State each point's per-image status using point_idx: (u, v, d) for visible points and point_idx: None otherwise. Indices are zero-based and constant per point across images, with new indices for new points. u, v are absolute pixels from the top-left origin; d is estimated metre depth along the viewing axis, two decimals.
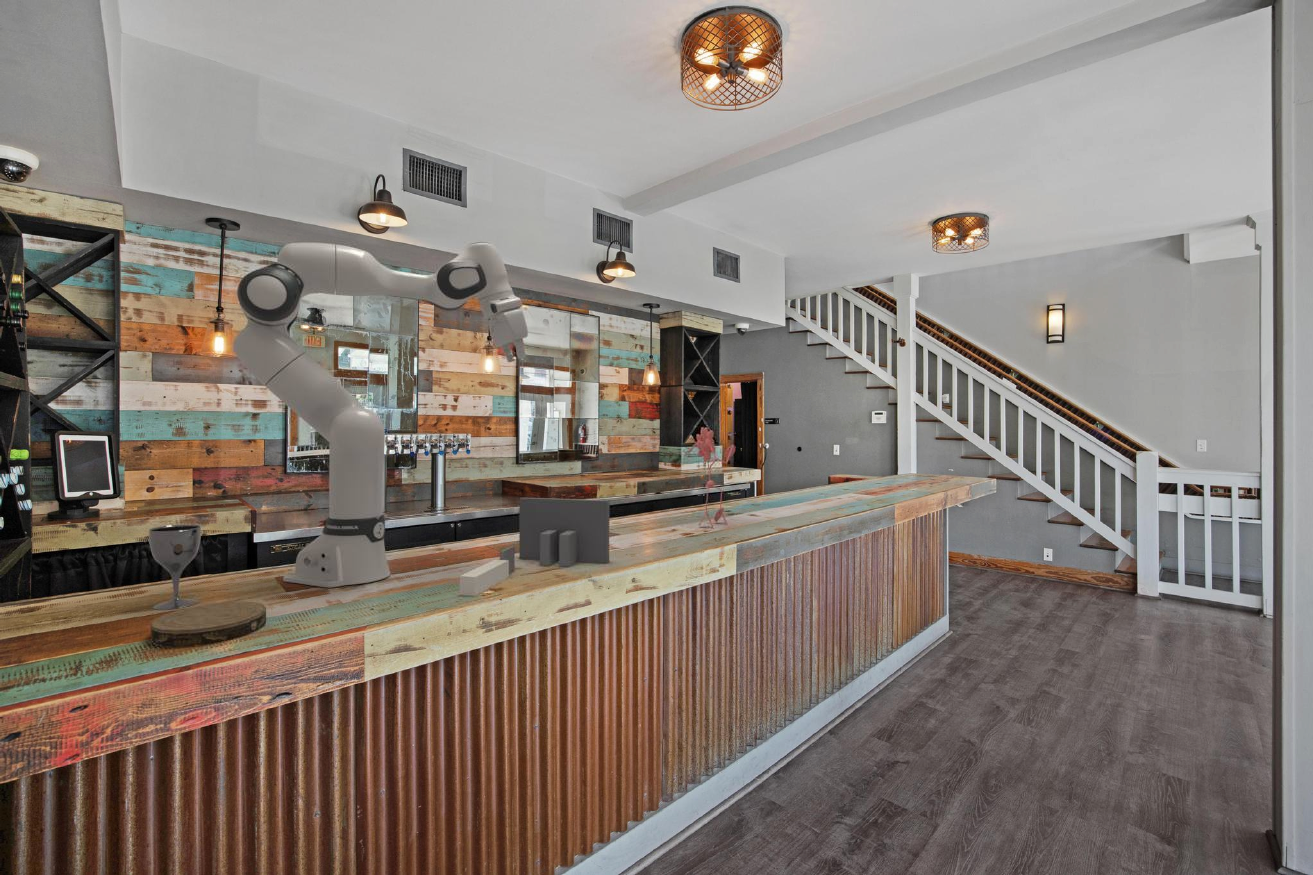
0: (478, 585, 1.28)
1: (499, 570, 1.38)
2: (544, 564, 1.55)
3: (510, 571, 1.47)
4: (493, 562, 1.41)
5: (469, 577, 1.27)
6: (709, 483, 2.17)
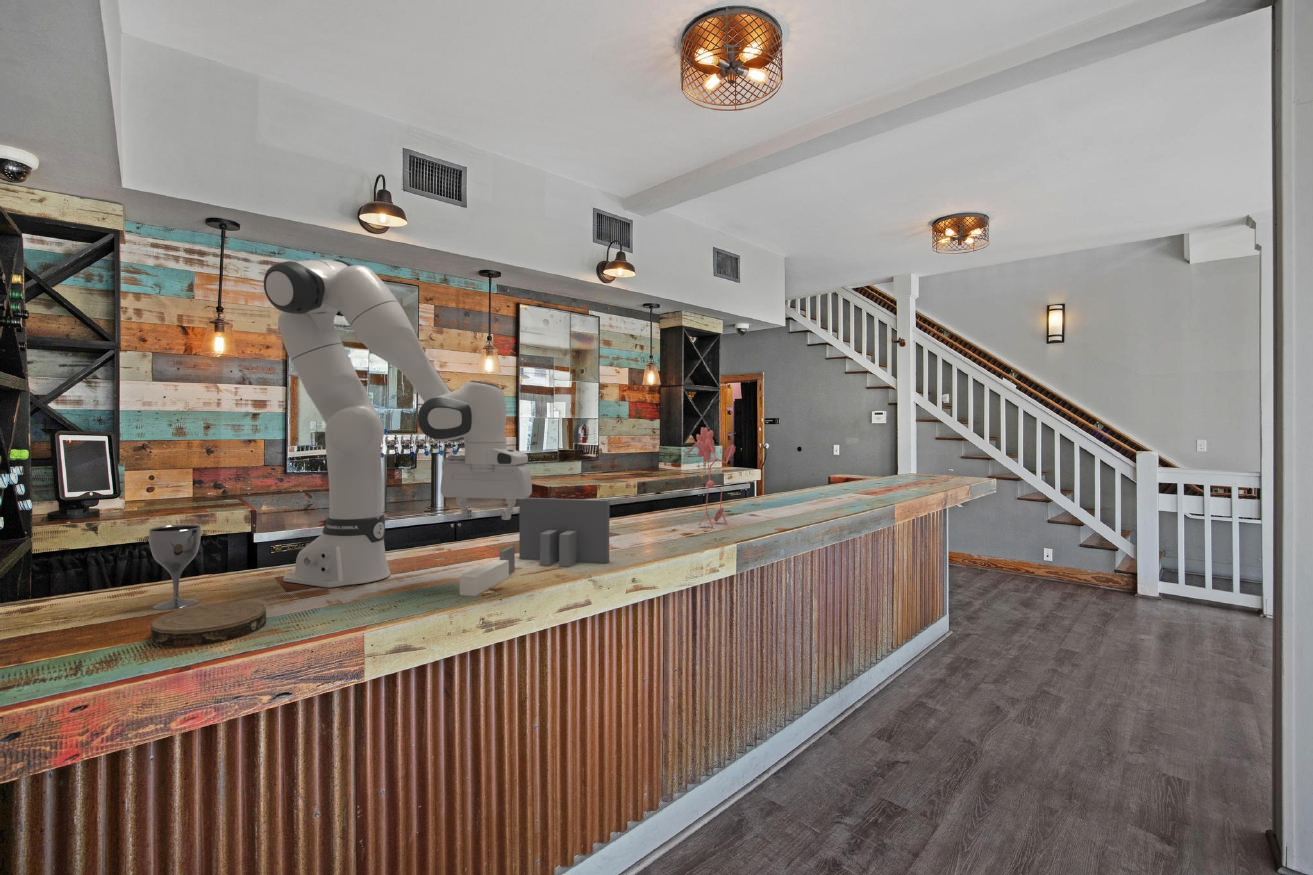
0: (478, 585, 1.28)
1: (499, 570, 1.38)
2: (544, 564, 1.55)
3: (510, 571, 1.47)
4: (493, 562, 1.41)
5: (469, 577, 1.27)
6: (709, 483, 2.17)
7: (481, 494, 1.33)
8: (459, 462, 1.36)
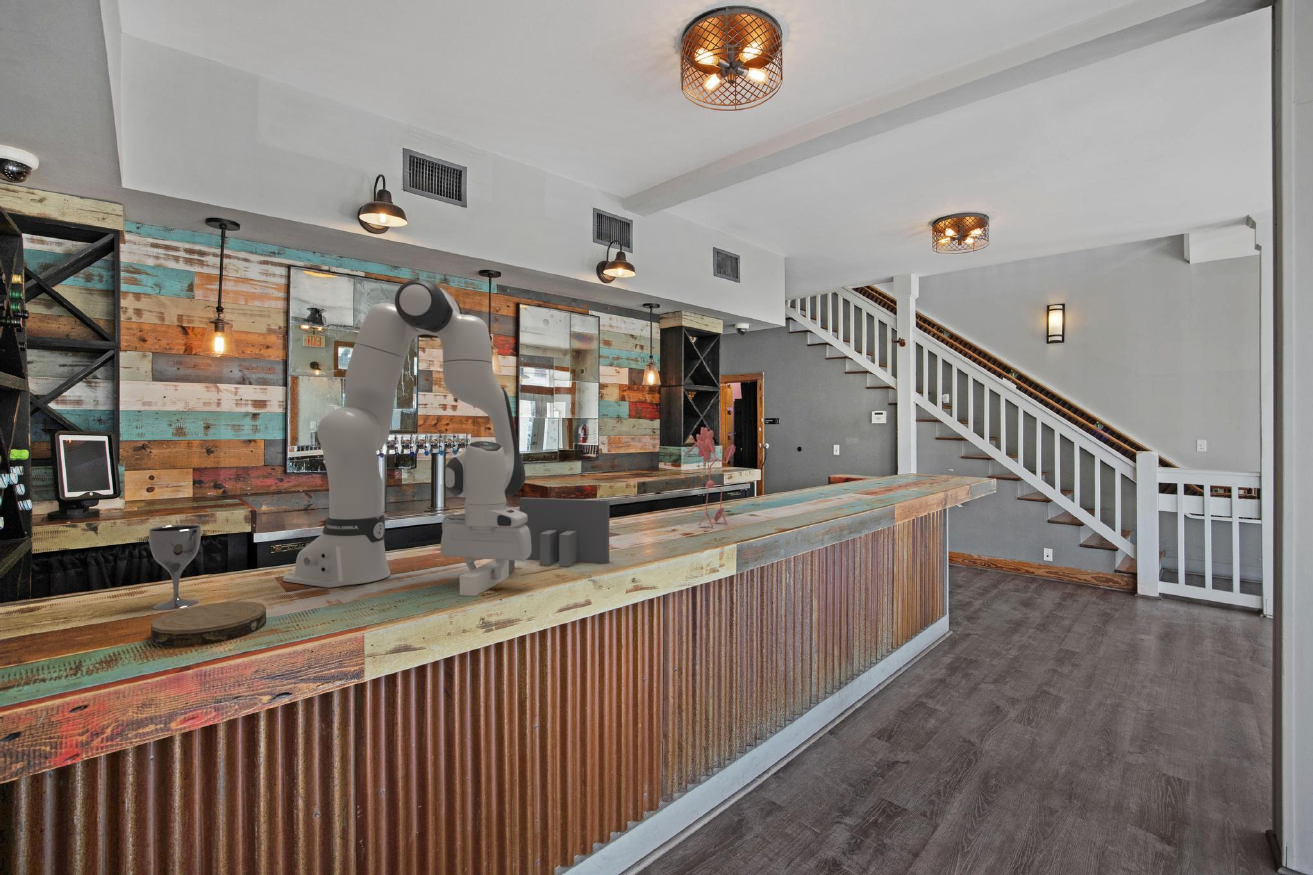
0: (478, 584, 1.28)
1: None
2: (544, 564, 1.55)
3: (510, 571, 1.47)
4: (493, 562, 1.41)
5: (469, 577, 1.27)
6: (709, 483, 2.17)
7: (481, 555, 1.34)
8: (459, 522, 1.36)
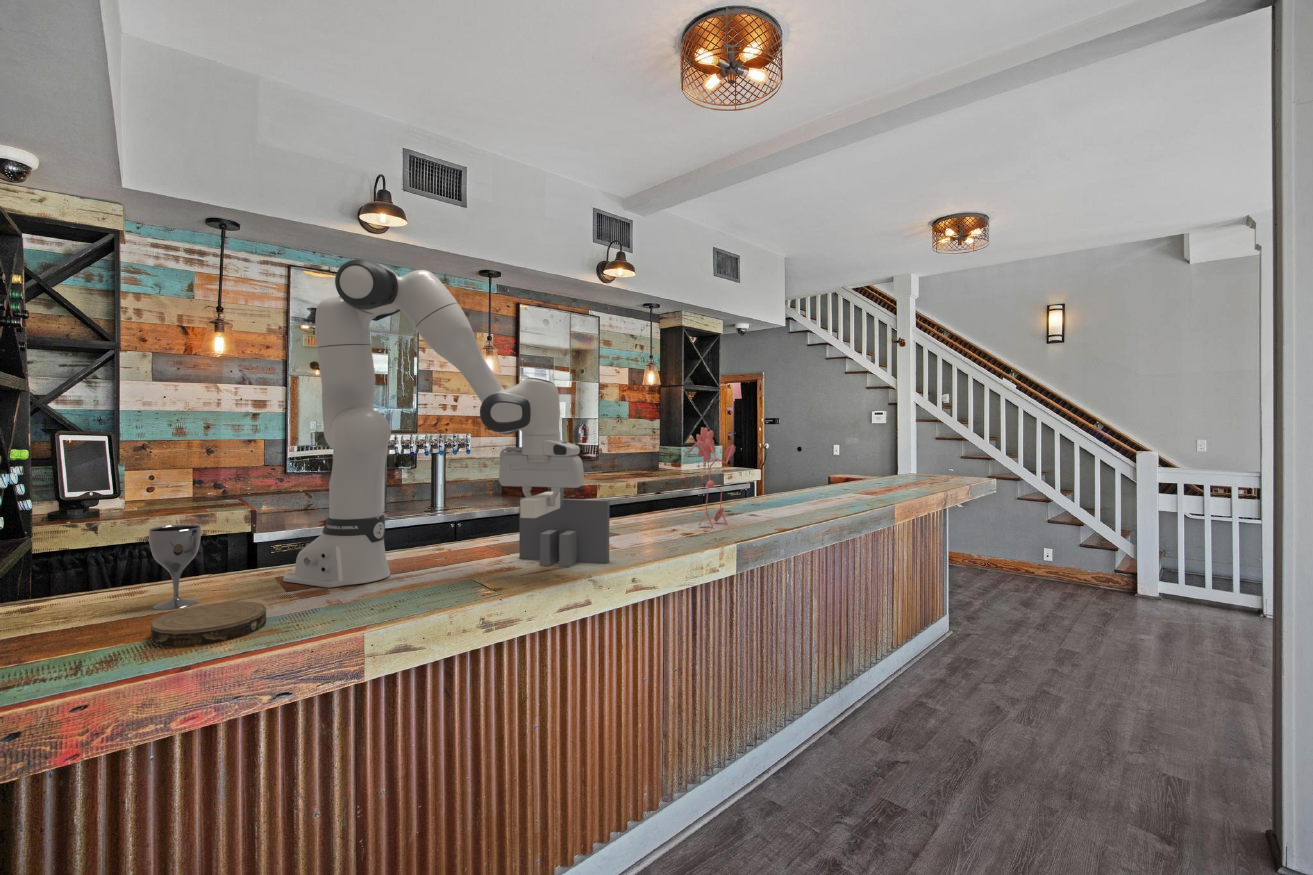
0: (537, 508, 1.38)
1: None
2: (544, 564, 1.55)
3: (560, 504, 1.57)
4: (546, 493, 1.50)
5: (529, 500, 1.37)
6: (709, 483, 2.17)
7: (537, 483, 1.43)
8: (516, 453, 1.46)
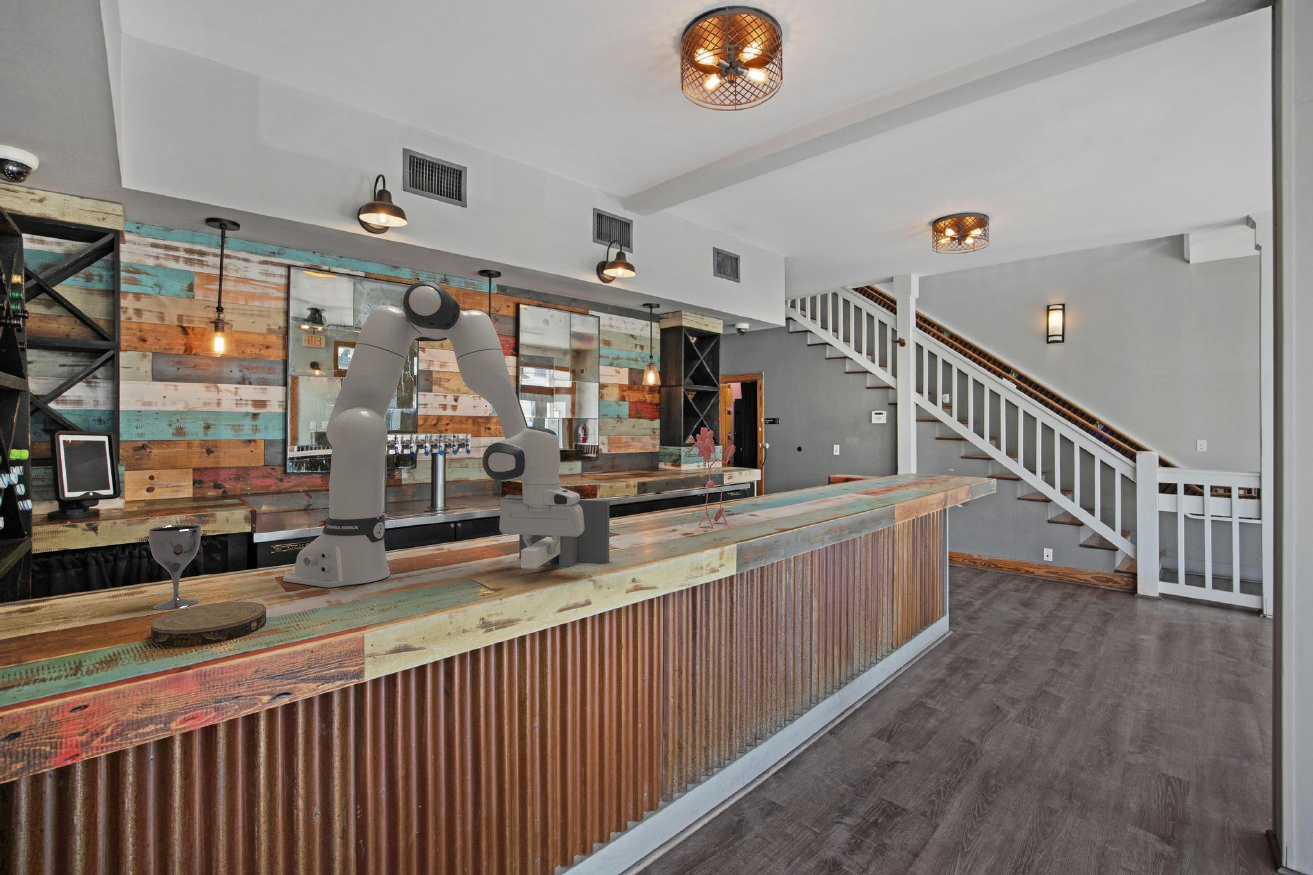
0: (538, 558, 1.39)
1: None
2: (544, 564, 1.55)
3: None
4: (546, 539, 1.51)
5: (530, 551, 1.38)
6: (709, 483, 2.17)
7: (538, 531, 1.44)
8: (516, 501, 1.46)
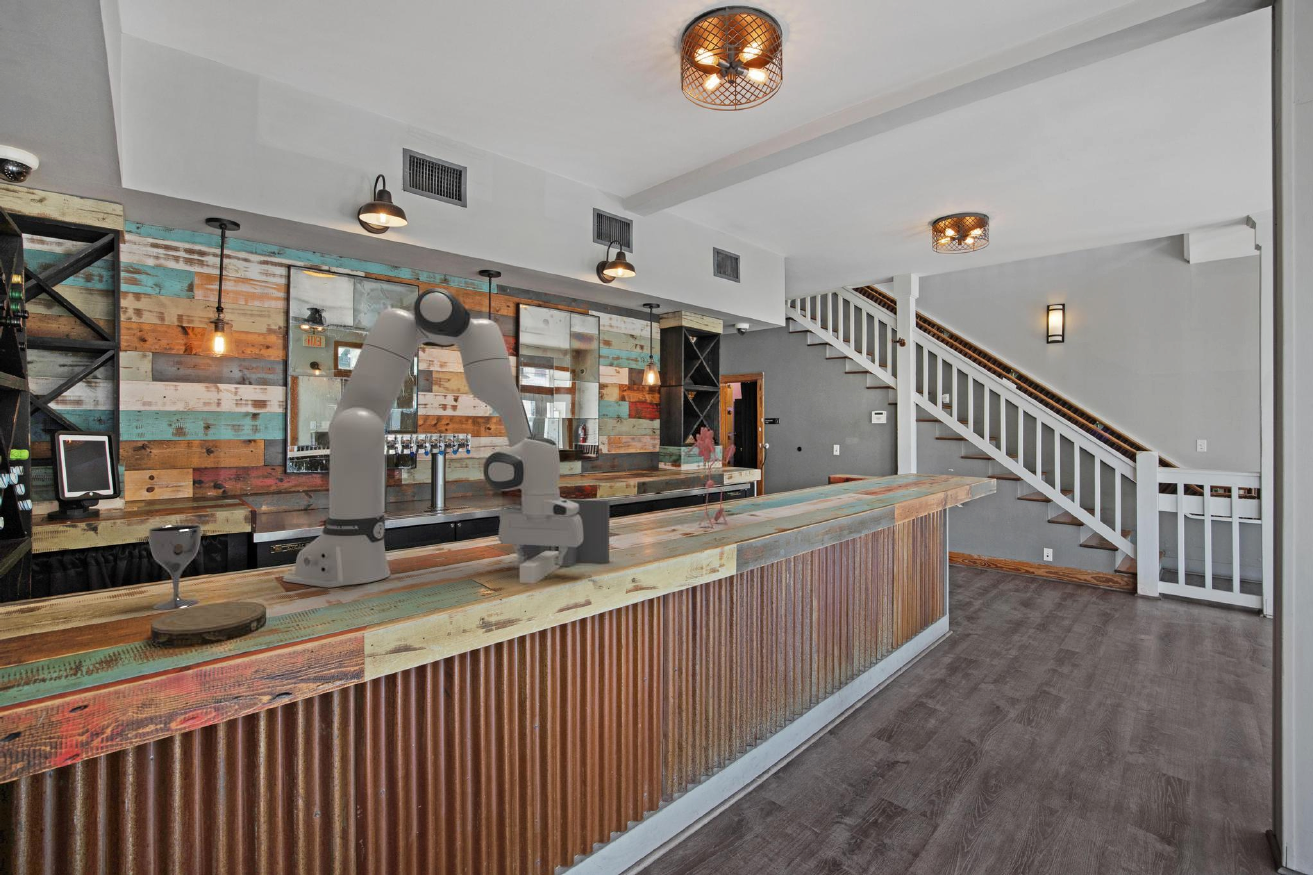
0: (536, 573, 1.39)
1: (552, 560, 1.48)
2: None
3: None
4: (545, 553, 1.51)
5: (528, 566, 1.38)
6: (709, 483, 2.17)
7: (537, 542, 1.44)
8: (516, 511, 1.46)
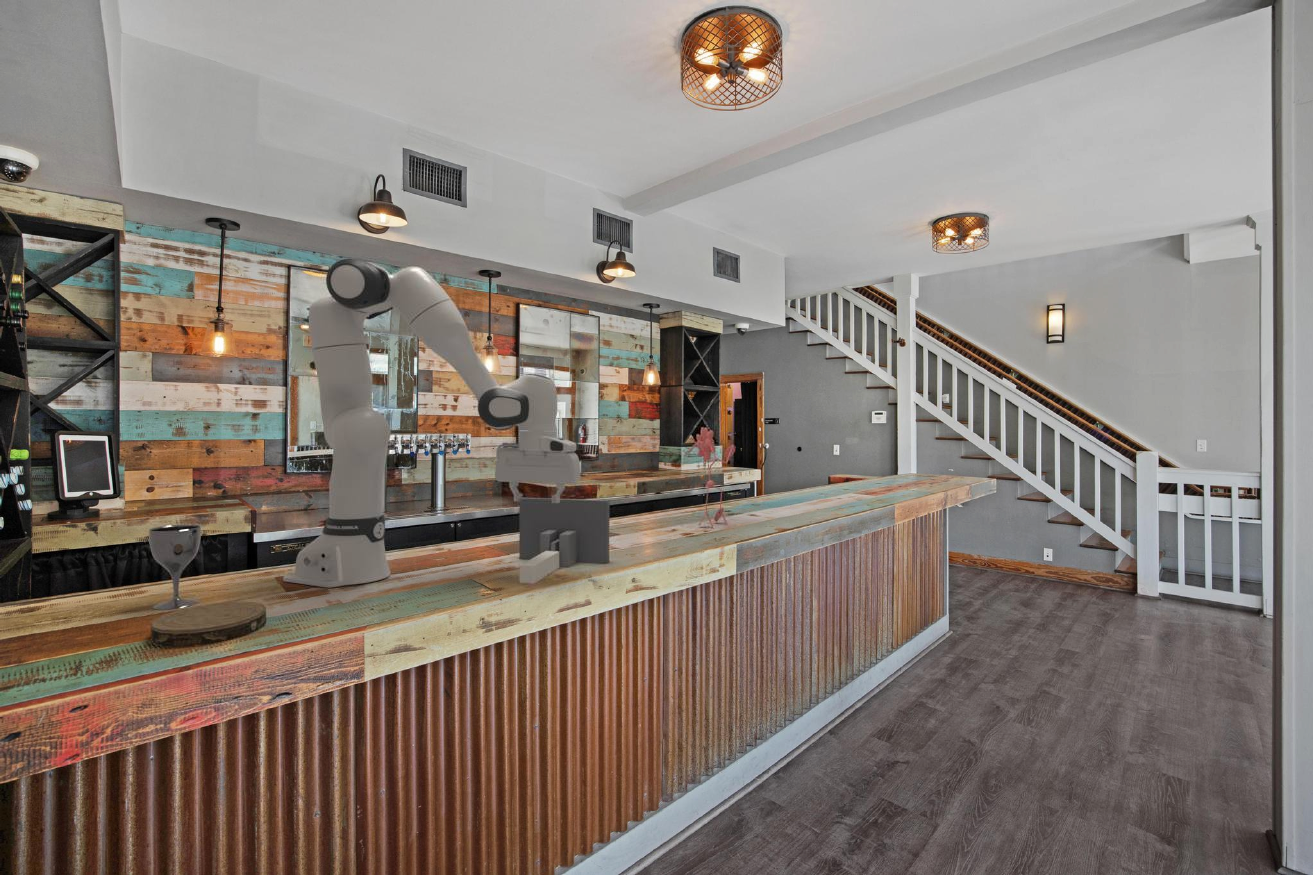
0: (536, 573, 1.39)
1: (552, 560, 1.48)
2: None
3: None
4: (545, 553, 1.51)
5: (528, 566, 1.38)
6: (709, 483, 2.17)
7: (533, 479, 1.43)
8: (512, 449, 1.46)
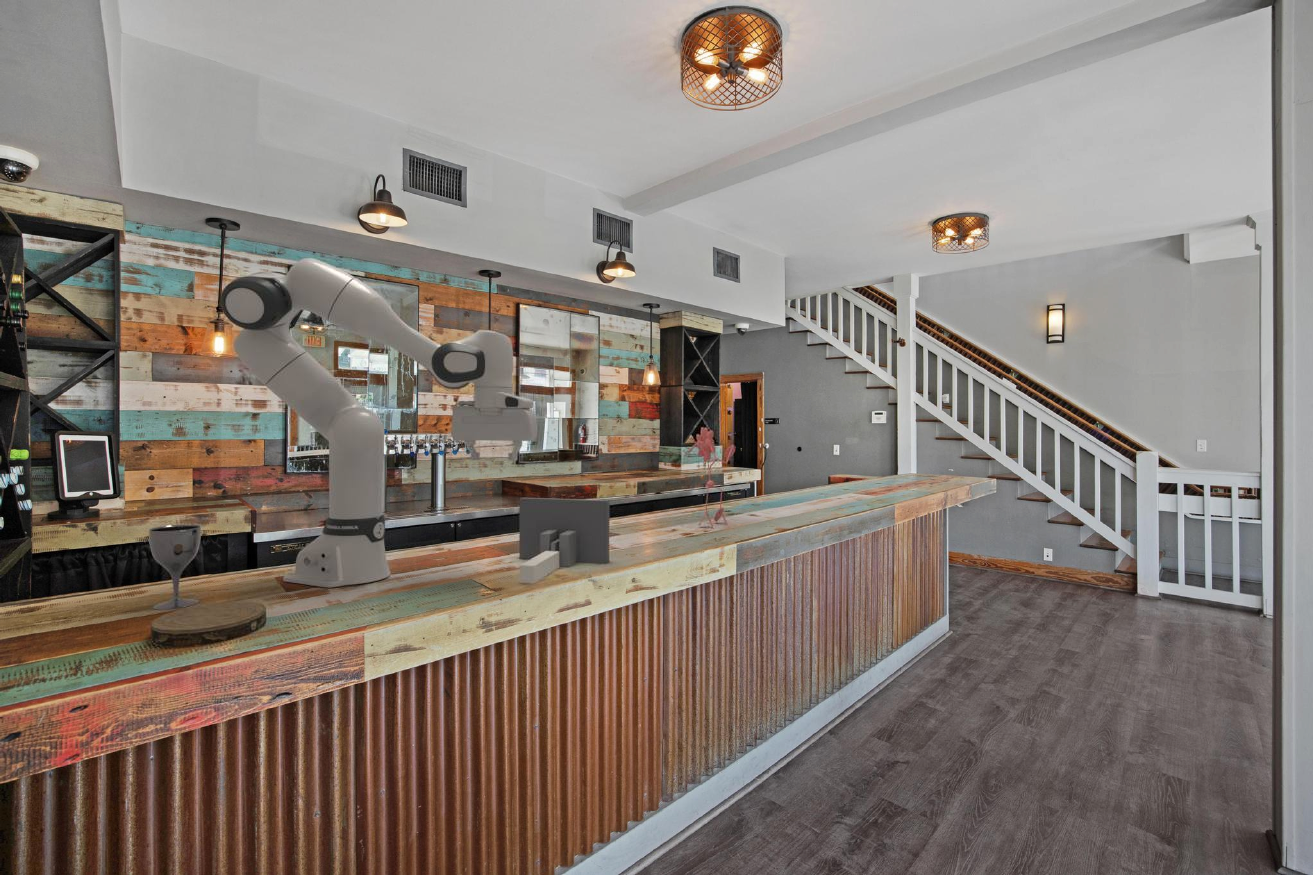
0: (536, 573, 1.39)
1: (552, 560, 1.48)
2: None
3: None
4: (545, 553, 1.51)
5: (528, 566, 1.38)
6: (709, 483, 2.17)
7: (489, 436, 1.41)
8: (468, 407, 1.44)
